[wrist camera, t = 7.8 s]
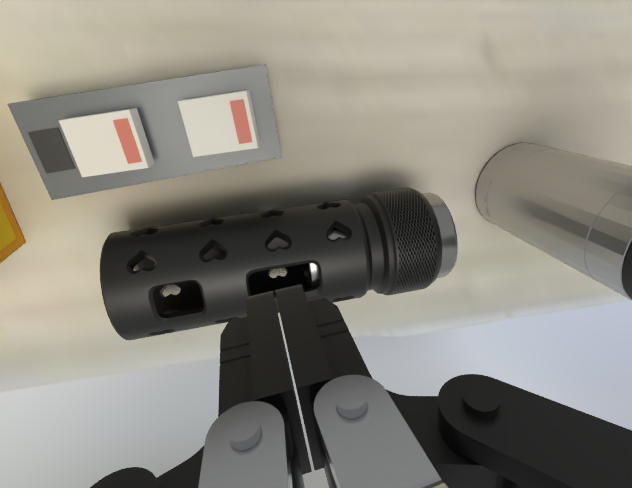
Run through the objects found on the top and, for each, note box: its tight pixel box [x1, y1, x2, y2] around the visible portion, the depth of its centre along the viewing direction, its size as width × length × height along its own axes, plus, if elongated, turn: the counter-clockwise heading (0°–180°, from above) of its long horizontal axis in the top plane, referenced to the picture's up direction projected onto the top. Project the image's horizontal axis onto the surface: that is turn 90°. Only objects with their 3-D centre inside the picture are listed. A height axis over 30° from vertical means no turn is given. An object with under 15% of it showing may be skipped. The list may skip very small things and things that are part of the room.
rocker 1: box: [59, 108, 155, 177], centre depth 27 cm, size 5×4×1 cm
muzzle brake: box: [100, 188, 457, 340], centre depth 34 cm, size 10×28×10 cm, turn 94°
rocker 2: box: [178, 90, 260, 157], centre depth 28 cm, size 5×4×1 cm
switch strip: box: [8, 65, 282, 200], centre depth 30 cm, size 18×7×4 cm, turn 98°
